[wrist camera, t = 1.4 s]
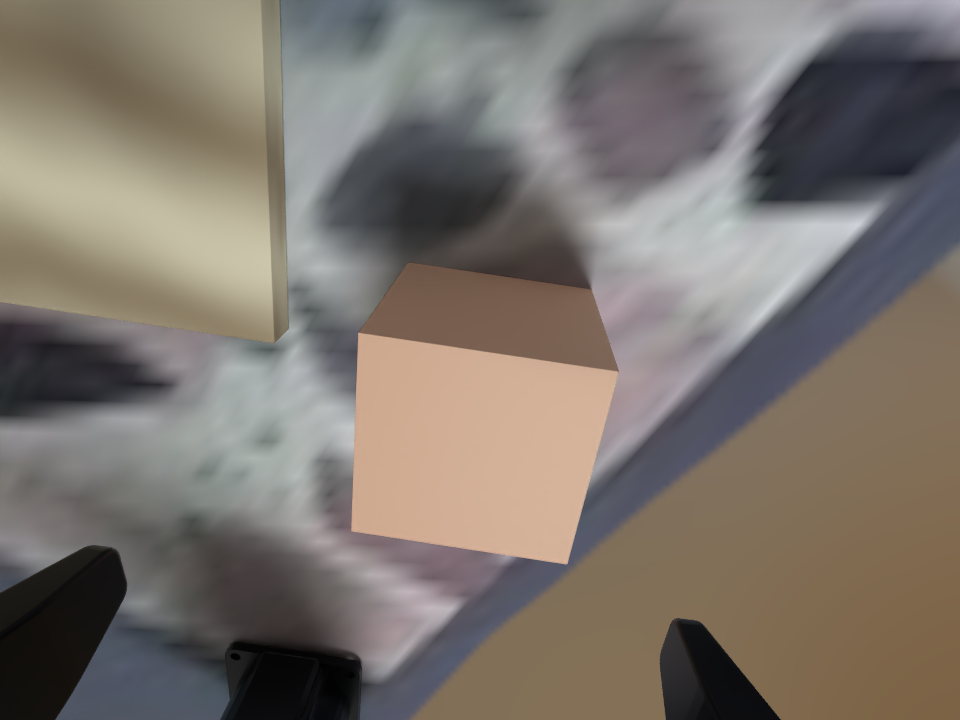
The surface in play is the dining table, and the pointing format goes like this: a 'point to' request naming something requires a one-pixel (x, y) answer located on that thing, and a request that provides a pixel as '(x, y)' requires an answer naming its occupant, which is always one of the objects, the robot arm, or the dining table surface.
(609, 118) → the dining table surface
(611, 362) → the terracotta cube
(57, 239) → the birch board
